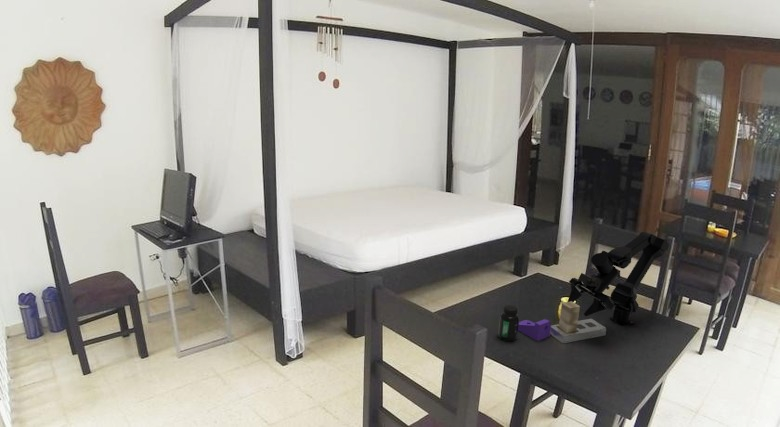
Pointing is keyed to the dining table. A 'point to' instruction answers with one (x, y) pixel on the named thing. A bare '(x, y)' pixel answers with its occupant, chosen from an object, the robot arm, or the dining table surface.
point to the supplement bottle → (508, 324)
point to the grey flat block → (579, 331)
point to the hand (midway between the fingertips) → (575, 310)
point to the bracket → (535, 329)
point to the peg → (569, 317)
